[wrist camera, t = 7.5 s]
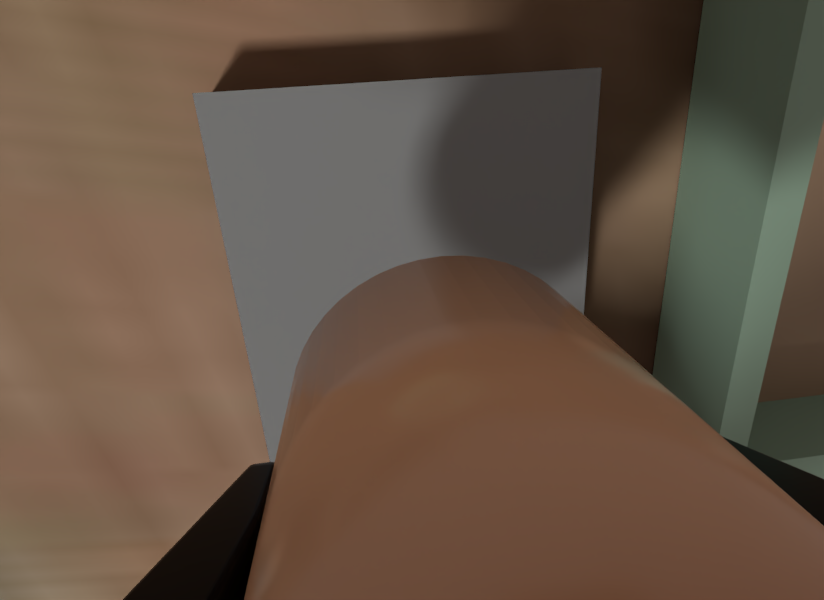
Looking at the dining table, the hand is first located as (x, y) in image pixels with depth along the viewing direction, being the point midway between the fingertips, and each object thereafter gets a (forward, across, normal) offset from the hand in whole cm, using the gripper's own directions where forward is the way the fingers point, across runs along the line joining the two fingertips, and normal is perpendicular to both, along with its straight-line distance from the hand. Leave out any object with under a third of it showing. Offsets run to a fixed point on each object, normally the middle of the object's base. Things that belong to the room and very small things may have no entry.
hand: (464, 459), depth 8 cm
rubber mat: (+8, 0, 0) cm, 8 cm away
